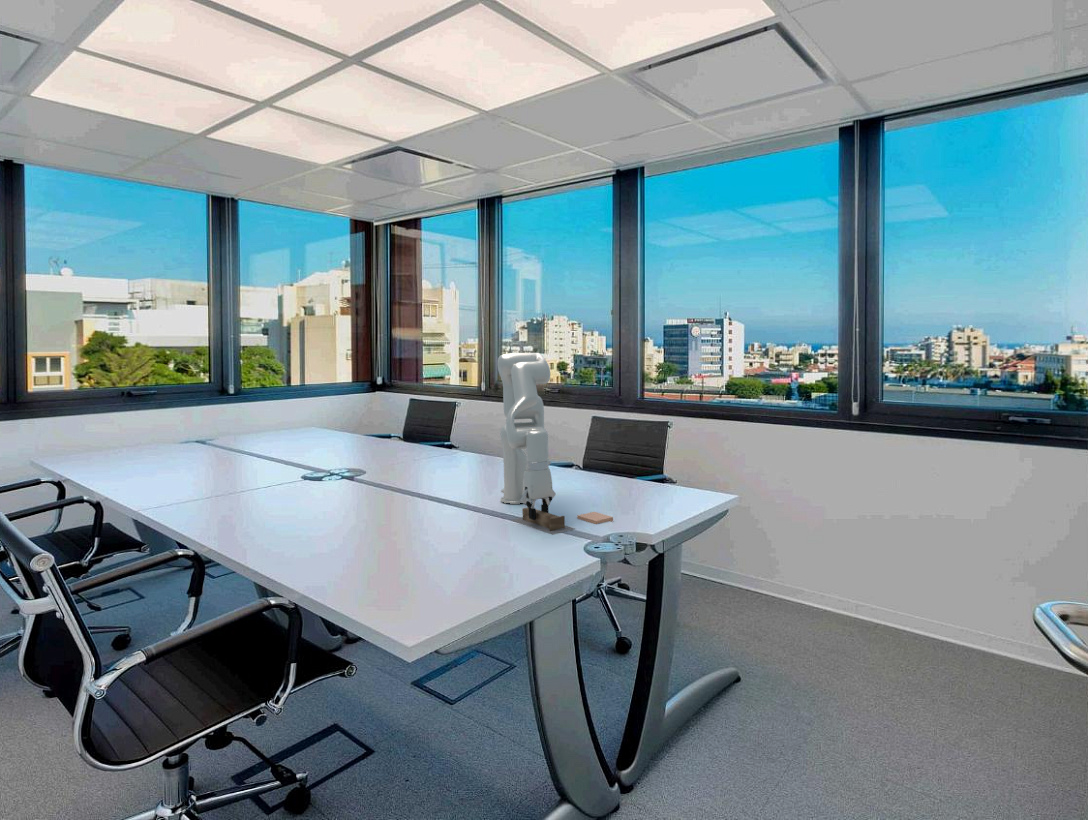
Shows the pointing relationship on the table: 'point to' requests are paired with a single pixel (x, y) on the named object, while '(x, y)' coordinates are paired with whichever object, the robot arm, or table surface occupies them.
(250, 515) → the table surface
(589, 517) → the tile
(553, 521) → the wooden beam
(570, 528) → the tool mat
